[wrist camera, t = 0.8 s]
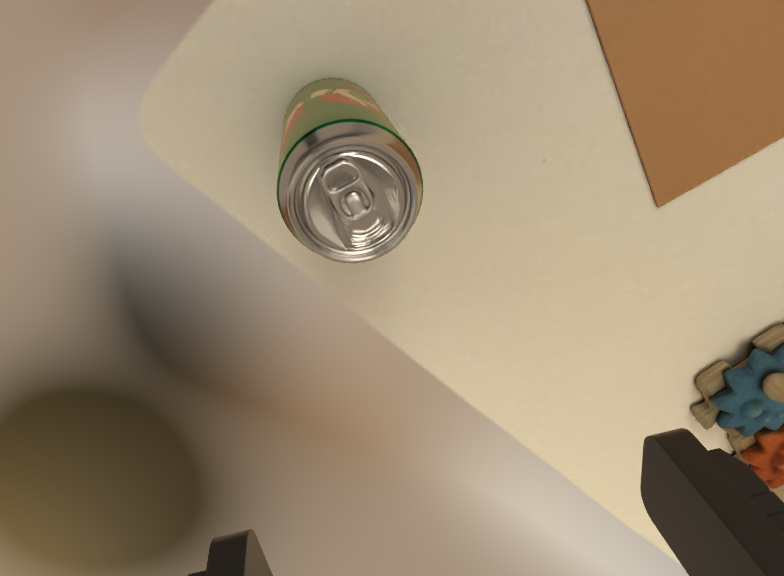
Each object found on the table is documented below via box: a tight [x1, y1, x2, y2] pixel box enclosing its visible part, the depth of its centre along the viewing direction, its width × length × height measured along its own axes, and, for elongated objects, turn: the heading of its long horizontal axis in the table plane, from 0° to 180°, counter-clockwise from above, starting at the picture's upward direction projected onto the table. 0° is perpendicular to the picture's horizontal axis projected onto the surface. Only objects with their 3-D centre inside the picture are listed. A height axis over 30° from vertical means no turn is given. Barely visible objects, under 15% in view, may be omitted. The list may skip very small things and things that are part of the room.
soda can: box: [277, 78, 423, 263], centre depth 24 cm, size 5×5×12 cm
